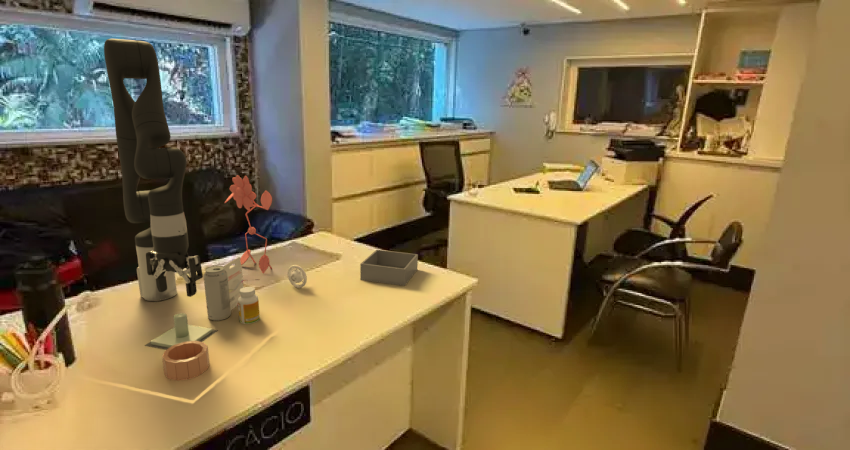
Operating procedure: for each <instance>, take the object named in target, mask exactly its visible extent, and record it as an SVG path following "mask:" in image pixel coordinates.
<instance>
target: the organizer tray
mask: <svg viewBox="0 0 850 450" xmlns="http://www.w3.org/2000/svg"><path fill="white" fill-rule="evenodd" d="M418 259H419V254H417V253H409V252H401V251H393V250H392V251H391V250H385V249H376V250H375V251H373V252H372V253H371V254H370V255H369V256H367V258H365V259H364V260H363V261H362V262H361V263H360V265H359V266H360V268H359V269H360V273H359V275H360V278H359V279H360V281H365V282H373V283H382V284H388V285H395V286H404V287H405V286H406V285H407V283H408V282H409V281H411V279H412V277H413V276H414V275H415V273H417V271H418V261H419V260H418Z"/></svg>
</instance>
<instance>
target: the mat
mask: <svg viewBox="0 0 850 450" xmlns="http://www.w3.org/2000/svg"><path fill="white" fill-rule="evenodd" d="M211 329H212V330H213V332H211V333H210V334H208V335H207V336H205V337H204V338H202V339H201V340H200V341H199V342H204V341H206V340H207V339H208V338H210V337H211V336H213V335H214V334H215V333H217V332H218V331H219V330H218V329H213V328H211ZM144 346H145V347H150V348H155V349H160V350H164V351H165V350H167V349H168V347H163V346H158V345H153V344H151V341H150V342H148V343H146V344H145V345H144Z"/></svg>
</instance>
